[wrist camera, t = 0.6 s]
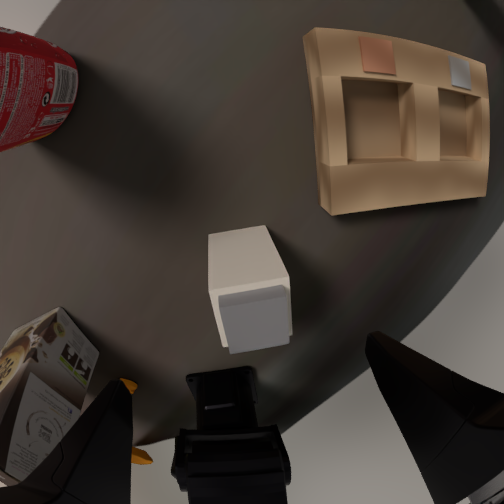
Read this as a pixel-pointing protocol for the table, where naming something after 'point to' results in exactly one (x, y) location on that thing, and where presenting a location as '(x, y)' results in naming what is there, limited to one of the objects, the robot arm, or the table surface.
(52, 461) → the robot arm
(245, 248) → the plug
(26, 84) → the soda can
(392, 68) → the socket board
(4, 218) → the table surface
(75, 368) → the coffee box
